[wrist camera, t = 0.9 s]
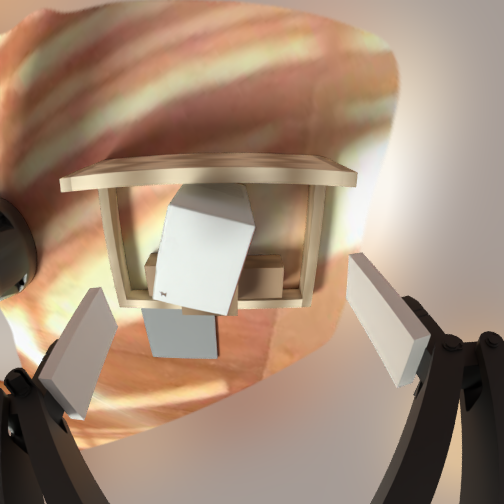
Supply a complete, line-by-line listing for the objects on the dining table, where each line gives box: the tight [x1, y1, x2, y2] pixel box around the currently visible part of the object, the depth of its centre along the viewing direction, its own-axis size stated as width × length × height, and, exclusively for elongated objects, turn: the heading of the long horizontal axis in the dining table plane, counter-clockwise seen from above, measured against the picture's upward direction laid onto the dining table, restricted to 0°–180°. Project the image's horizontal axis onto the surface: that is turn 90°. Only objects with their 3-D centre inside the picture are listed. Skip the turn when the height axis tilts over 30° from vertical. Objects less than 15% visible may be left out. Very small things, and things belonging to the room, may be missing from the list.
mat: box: [141, 308, 218, 359], centre depth 39 cm, size 10×10×1 cm
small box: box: [153, 183, 256, 316], centre depth 27 cm, size 8×6×13 cm
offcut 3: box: [238, 255, 284, 299], centre depth 35 cm, size 7×4×4 cm, turn 89°
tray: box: [60, 153, 358, 309], centre depth 29 cm, size 24×18×10 cm
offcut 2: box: [182, 285, 238, 316], centre depth 32 cm, size 6×4×3 cm, turn 88°
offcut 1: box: [144, 253, 158, 296], centre depth 34 cm, size 7×4×4 cm, turn 89°
